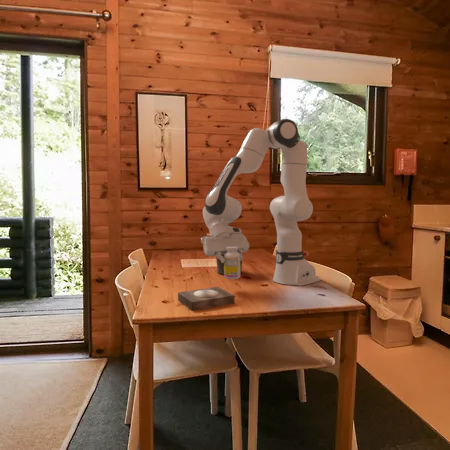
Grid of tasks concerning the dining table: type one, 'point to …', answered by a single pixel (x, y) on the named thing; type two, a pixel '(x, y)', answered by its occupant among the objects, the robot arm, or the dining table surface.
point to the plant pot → (221, 265)
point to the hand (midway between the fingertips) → (233, 261)
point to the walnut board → (205, 298)
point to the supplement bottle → (232, 263)
